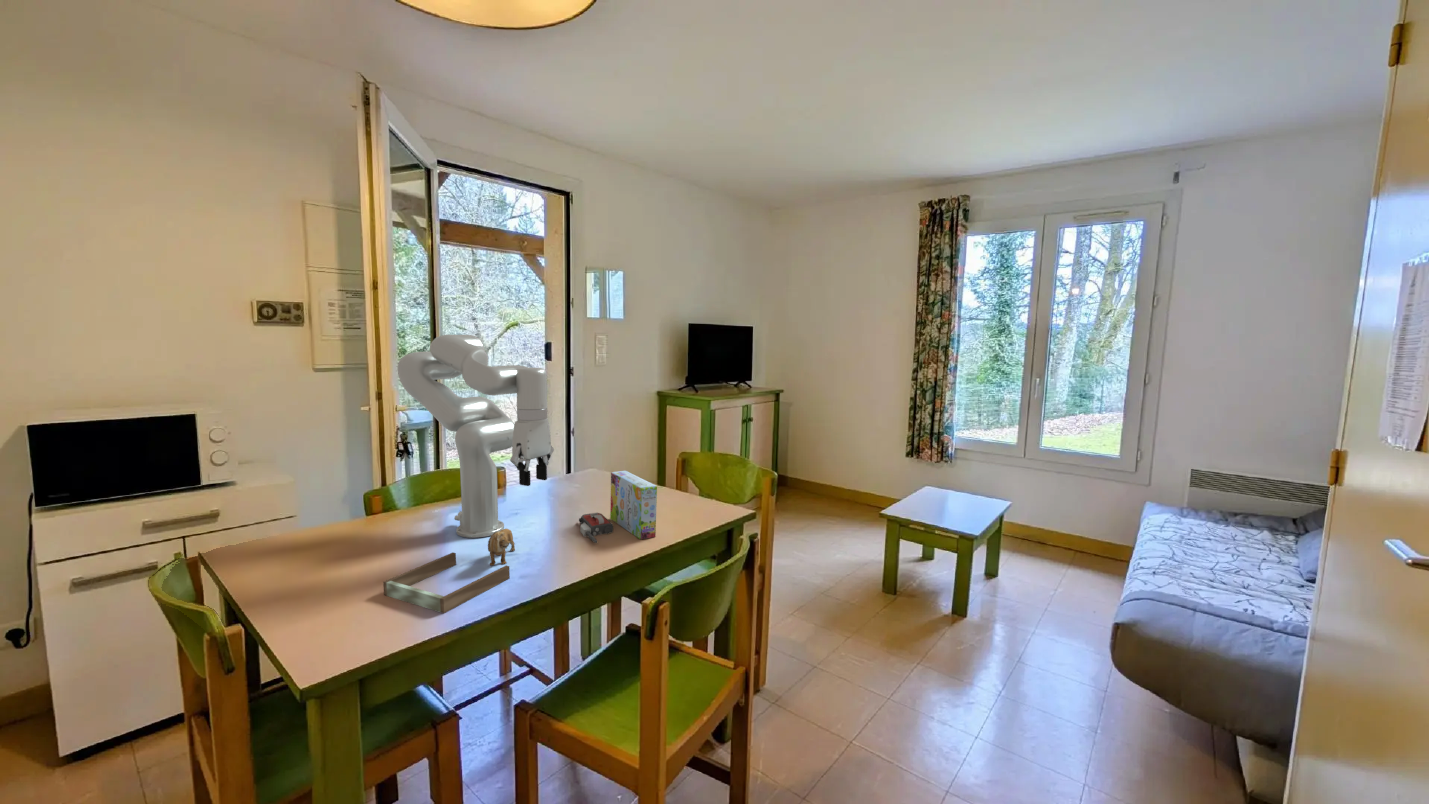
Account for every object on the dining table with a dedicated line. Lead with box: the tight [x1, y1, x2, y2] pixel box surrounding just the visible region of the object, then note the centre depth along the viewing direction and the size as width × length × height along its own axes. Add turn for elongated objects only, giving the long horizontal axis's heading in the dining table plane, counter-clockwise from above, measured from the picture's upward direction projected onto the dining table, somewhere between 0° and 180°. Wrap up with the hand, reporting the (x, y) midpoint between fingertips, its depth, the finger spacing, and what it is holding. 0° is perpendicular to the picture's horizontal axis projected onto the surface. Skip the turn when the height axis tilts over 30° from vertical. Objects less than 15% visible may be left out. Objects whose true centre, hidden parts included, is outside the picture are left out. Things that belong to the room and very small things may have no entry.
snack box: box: [609, 470, 658, 540], centre depth 163 cm, size 21×6×15 cm, turn 34°
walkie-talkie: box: [578, 512, 614, 544], centre depth 160 cm, size 9×4×20 cm
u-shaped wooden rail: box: [383, 552, 511, 614], centre depth 124 cm, size 18×18×3 cm
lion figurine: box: [487, 528, 516, 567], centre depth 139 cm, size 15×5×9 cm, turn 13°
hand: (533, 481), depth 147 cm, fingers open, 5 cm apart
